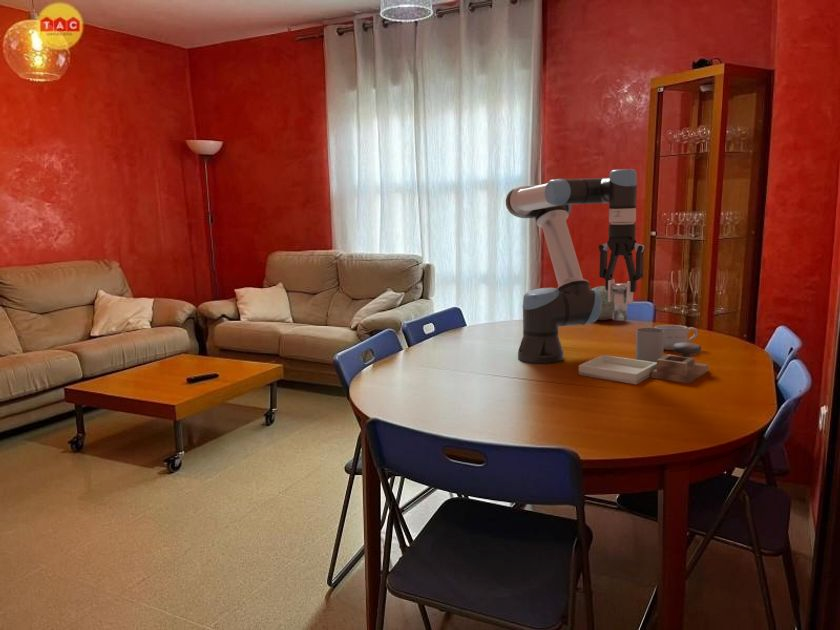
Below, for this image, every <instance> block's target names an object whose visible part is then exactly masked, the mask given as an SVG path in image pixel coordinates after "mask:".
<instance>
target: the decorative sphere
mask: <svg viewBox="0 0 840 630" xmlns="http://www.w3.org/2000/svg"><path fill="white" fill-rule="evenodd" d="M605 286H606V285H598V286H595V287H593V288H592V289H596V290H597V291H598V292H599V293H600V295H601V299H602V308H601V312H600V315H599V317H598V319H597V320H596V321H606V320H607V321H608V320H610V319H613V301H612V302H608V290H606V289H605Z"/></svg>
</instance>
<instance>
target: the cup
mask: <svg viewBox="0 0 840 630" xmlns="http://www.w3.org/2000/svg"><path fill="white" fill-rule="evenodd" d="M635 335H636V338H635V339H636V341H635V359H636V360H643V361H650V362H657V359H659V358H661V357H663V356H664V350H665V349H664V330H662V329H659V328H655V327H640V328H639V327H638V328H637V329H636V334H635Z"/></svg>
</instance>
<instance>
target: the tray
mask: <svg viewBox="0 0 840 630" xmlns="http://www.w3.org/2000/svg"><path fill="white" fill-rule="evenodd" d="M656 368H657V362H650V361H643V360H636V358H628V357H621V356H613V355H607V354H601V355H600V356H599V355H598V356H597V357H594V358H592V359H590V360H587V361H585V362H583V363H581V364H579V365H578V375H579V376H584V377H591V378H596V379H602V380H606V381H607V380H608V381H612V382H613V381H614V382H621V383H624V384H625V383H626V384H631V385H637V384H640V383H641V382H643V381H646V380H647V379H649V378H652V377H651V371H652V370H654V369H656Z"/></svg>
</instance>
